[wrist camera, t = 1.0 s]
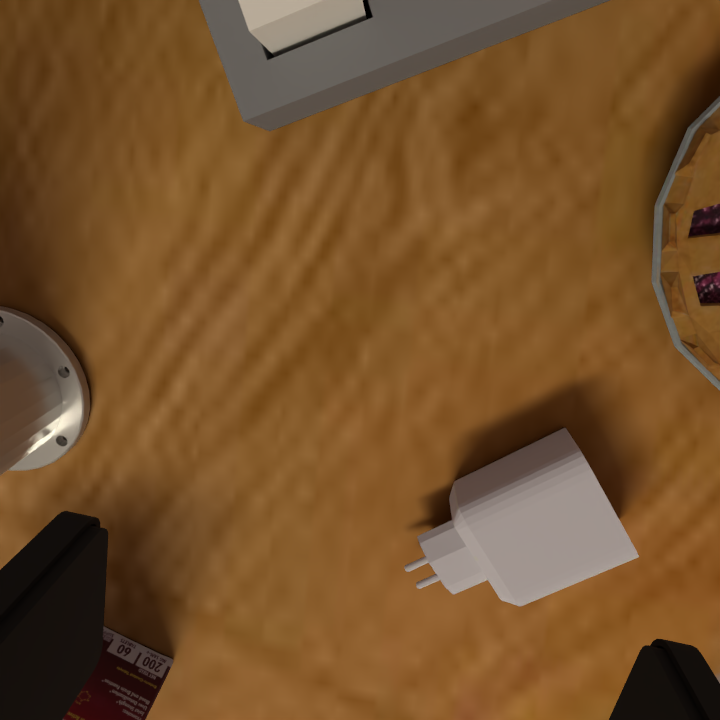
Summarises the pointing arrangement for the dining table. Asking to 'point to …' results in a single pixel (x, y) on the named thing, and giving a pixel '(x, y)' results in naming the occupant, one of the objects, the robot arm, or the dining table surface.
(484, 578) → the charger
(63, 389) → the robot arm
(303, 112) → the button box
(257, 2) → the beige plunger
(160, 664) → the supplement box
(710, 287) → the pie
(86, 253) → the dining table surface
